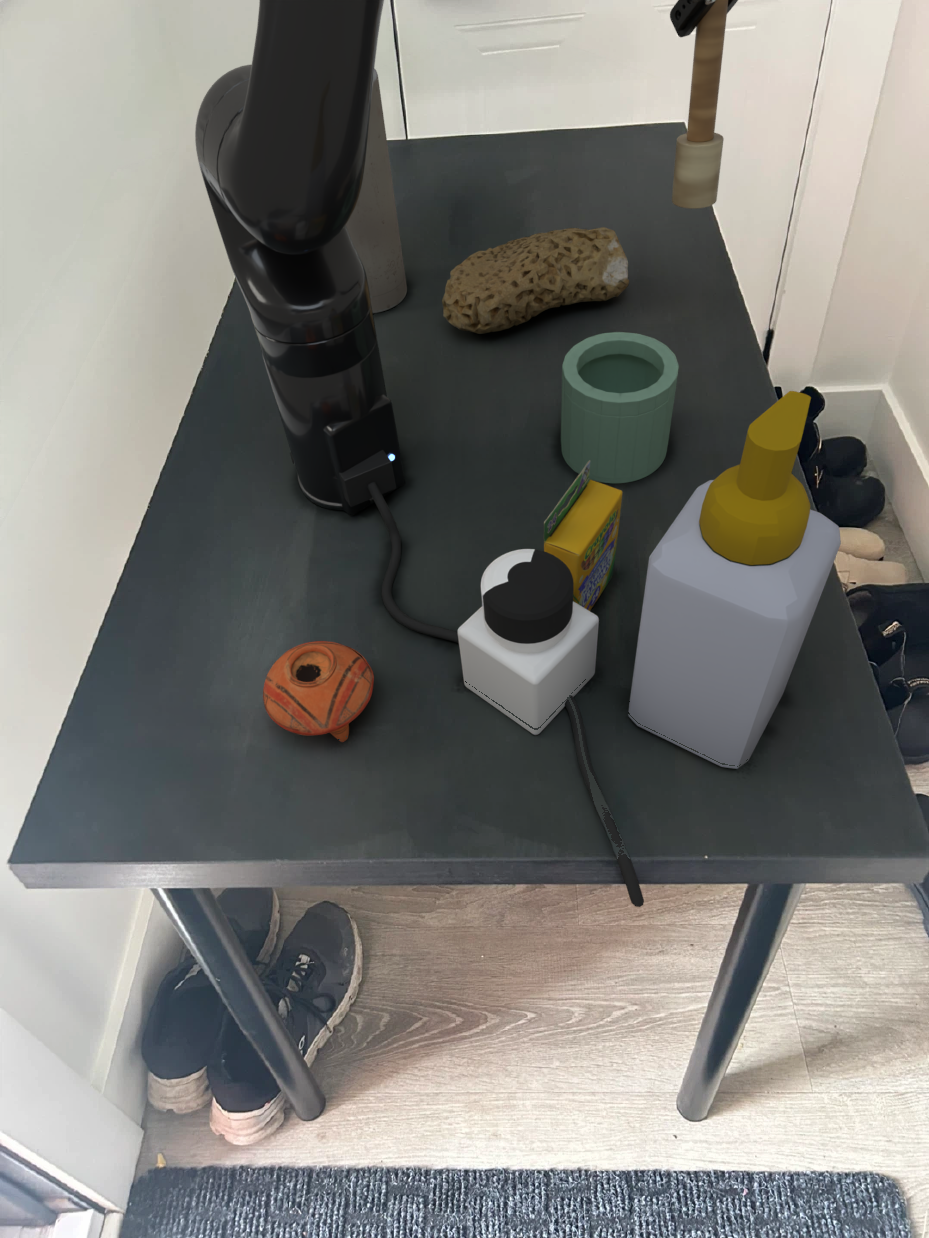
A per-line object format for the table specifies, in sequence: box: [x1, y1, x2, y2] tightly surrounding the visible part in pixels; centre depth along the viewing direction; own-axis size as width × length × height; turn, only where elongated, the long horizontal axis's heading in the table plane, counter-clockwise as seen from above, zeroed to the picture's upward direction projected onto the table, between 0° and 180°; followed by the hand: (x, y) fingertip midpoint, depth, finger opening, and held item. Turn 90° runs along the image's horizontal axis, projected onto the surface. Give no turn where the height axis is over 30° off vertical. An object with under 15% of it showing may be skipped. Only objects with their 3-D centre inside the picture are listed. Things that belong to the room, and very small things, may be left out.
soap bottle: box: [627, 390, 842, 770], centre depth 54 cm, size 9×9×25 cm
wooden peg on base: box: [671, 0, 728, 210], centre depth 71 cm, size 4×4×17 cm
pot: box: [262, 640, 375, 743], centre depth 64 cm, size 8×8×7 cm
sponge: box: [441, 226, 630, 335], centre depth 93 cm, size 13×8×20 cm
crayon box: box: [543, 460, 623, 612], centre depth 66 cm, size 7×3×12 cm, turn 149°
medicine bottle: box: [457, 548, 600, 736], centre depth 62 cm, size 7×7×12 cm
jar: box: [560, 331, 680, 484], centre depth 78 cm, size 10×10×9 cm
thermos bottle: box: [346, 67, 408, 314], centre depth 89 cm, size 8×8×28 cm
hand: (691, 22), depth 69 cm, fingers closed on wooden peg on base, 2 cm apart
